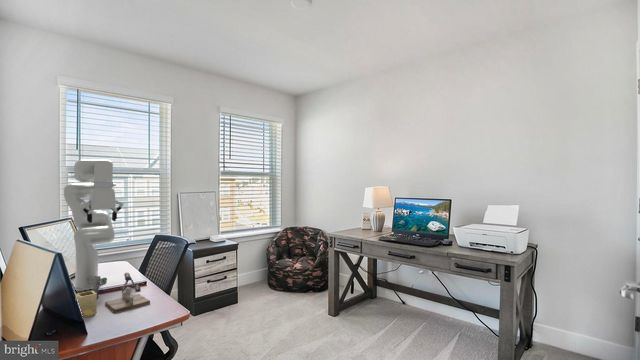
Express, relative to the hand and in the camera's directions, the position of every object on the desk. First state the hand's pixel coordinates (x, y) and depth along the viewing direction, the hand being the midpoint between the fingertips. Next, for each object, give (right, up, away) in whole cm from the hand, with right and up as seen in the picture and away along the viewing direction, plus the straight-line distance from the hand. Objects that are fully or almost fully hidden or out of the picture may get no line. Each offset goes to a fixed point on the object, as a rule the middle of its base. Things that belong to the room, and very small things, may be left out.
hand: (102, 221), depth 150 cm
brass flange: (+4, -37, -16) cm, 40 cm away
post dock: (+16, -37, -7) cm, 41 cm away
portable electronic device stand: (+6, -37, +12) cm, 40 cm away
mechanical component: (-3, -37, +1) cm, 37 cm away
